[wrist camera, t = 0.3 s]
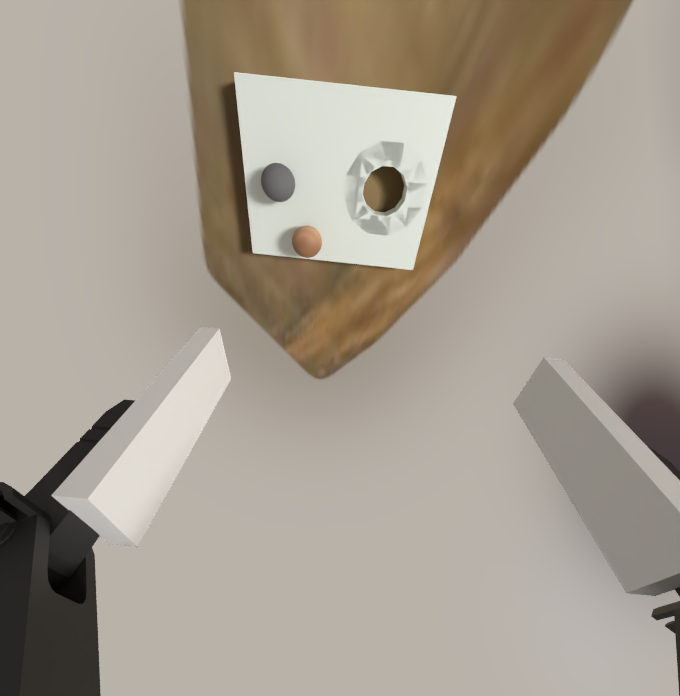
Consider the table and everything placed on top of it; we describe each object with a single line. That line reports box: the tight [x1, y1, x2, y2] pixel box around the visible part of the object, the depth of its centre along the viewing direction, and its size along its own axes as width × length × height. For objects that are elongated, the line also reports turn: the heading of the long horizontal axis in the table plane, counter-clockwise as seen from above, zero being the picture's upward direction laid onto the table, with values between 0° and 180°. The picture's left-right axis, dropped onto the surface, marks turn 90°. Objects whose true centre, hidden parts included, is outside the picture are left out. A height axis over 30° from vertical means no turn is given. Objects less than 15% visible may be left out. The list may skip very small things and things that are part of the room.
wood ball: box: [292, 226, 322, 258], centre depth 31 cm, size 3×3×3 cm
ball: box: [261, 163, 295, 202], centre depth 28 cm, size 3×3×3 cm
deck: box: [234, 72, 456, 270], centre depth 30 cm, size 16×20×2 cm
